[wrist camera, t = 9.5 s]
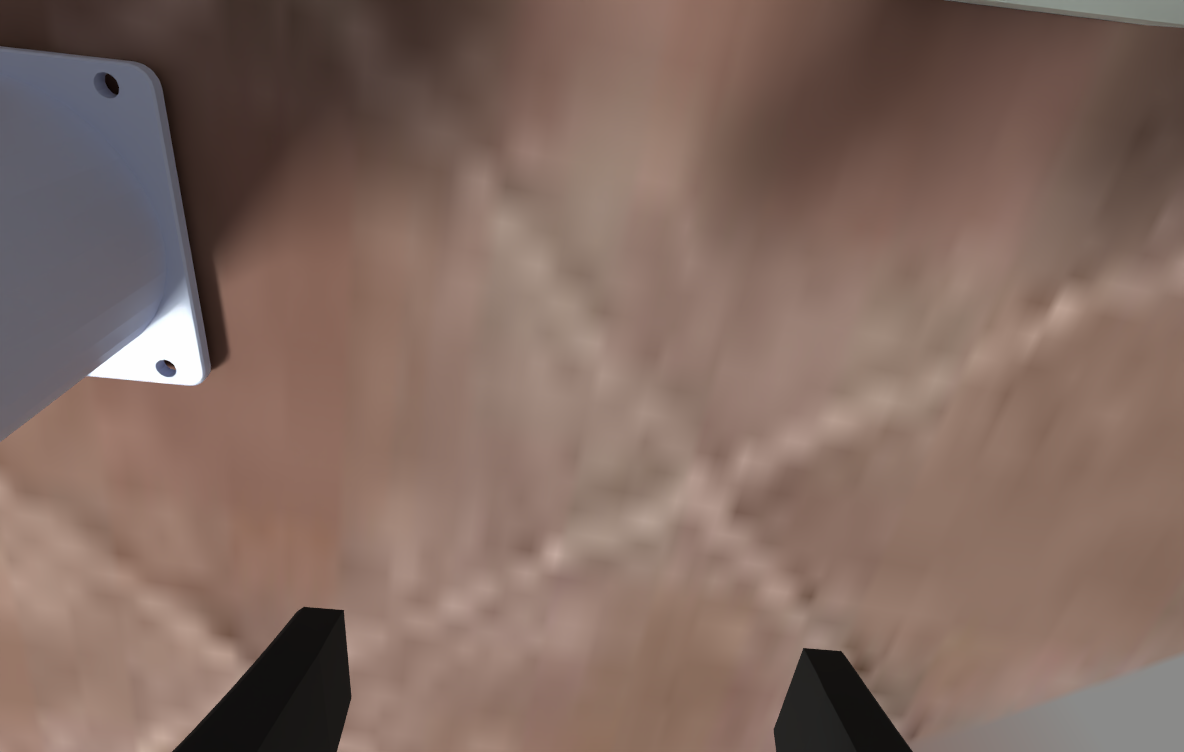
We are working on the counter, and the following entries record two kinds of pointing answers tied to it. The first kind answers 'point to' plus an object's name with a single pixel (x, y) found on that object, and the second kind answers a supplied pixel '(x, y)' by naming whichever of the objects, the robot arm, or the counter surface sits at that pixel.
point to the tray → (1102, 9)
